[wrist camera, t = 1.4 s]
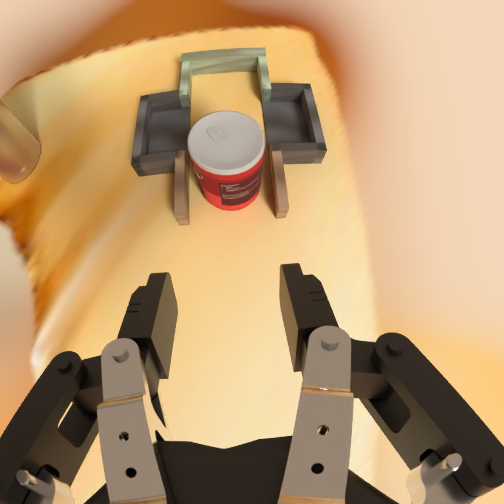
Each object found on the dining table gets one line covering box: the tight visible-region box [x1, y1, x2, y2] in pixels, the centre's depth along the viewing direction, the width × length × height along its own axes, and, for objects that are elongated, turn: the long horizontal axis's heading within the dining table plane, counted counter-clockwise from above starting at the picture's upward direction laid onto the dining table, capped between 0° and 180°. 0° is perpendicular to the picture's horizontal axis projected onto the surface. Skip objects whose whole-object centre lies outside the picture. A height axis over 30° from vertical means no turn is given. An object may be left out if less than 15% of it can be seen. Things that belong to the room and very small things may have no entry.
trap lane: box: [131, 48, 327, 225], centre depth 39 cm, size 28×25×4 cm
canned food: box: [188, 111, 265, 211], centre depth 34 cm, size 8×8×11 cm
